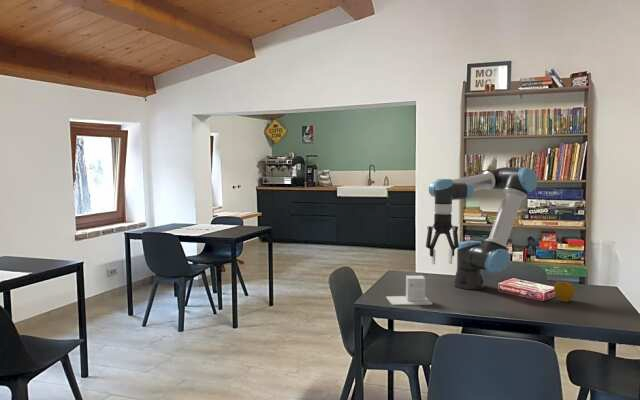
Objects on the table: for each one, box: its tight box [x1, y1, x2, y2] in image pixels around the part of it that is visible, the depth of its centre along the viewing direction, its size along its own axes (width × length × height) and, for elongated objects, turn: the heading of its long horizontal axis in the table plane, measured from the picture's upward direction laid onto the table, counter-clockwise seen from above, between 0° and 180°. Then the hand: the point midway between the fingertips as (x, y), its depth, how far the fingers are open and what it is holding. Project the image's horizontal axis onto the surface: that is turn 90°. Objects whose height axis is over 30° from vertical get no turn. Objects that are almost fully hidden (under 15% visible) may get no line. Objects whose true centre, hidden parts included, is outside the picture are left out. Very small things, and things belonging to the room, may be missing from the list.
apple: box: [553, 281, 576, 303], centre depth 216 cm, size 9×8×9 cm
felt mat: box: [385, 295, 433, 306], centre depth 215 cm, size 18×12×1 cm, turn 95°
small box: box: [405, 275, 427, 301], centre depth 215 cm, size 8×6×10 cm
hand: (441, 263), depth 215 cm, fingers open, 7 cm apart
